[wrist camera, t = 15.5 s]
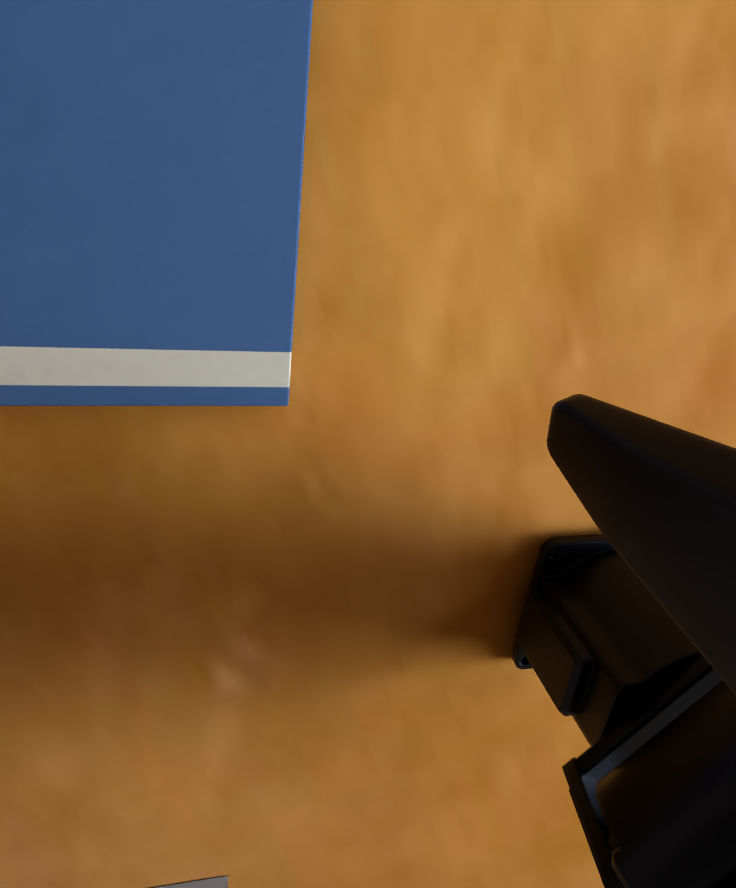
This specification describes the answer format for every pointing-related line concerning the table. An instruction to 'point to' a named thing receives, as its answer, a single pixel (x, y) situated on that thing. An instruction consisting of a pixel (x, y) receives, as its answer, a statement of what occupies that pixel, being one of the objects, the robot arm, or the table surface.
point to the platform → (202, 883)
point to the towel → (150, 200)
